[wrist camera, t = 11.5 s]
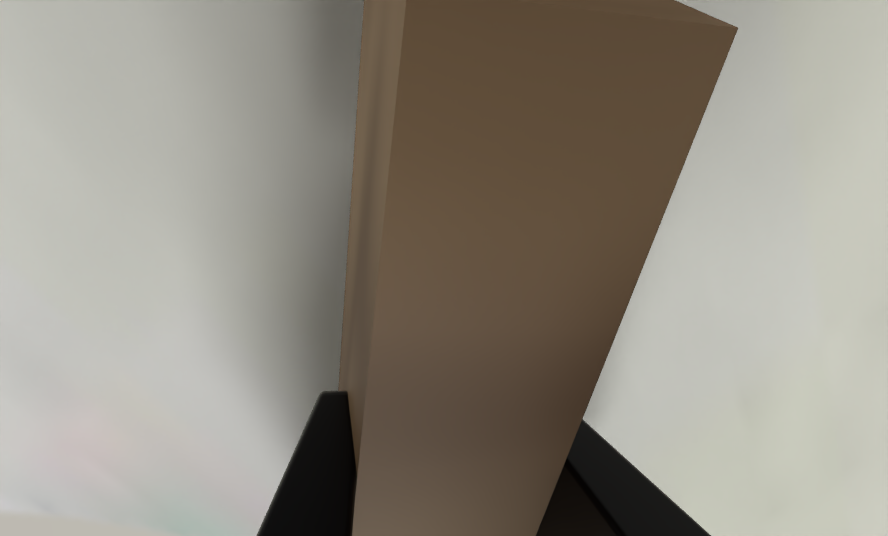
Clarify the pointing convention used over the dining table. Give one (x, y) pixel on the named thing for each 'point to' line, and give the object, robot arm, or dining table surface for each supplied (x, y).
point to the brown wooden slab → (502, 238)
